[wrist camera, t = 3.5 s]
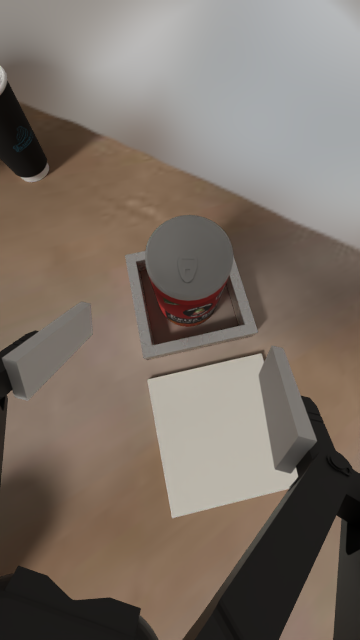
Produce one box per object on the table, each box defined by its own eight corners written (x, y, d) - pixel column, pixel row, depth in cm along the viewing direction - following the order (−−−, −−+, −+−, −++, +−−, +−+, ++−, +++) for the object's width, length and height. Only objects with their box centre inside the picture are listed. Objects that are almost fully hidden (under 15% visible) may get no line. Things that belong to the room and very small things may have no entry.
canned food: (166, 334, 28) (155, 308, 18) (153, 278, 30) (135, 224, 20) (224, 320, 29) (247, 285, 18) (207, 265, 31) (218, 205, 20)
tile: (148, 379, 27) (147, 379, 26) (259, 353, 27) (261, 353, 27) (172, 514, 23) (172, 518, 23) (300, 482, 24) (303, 484, 23)
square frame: (129, 264, 31) (125, 255, 28) (223, 245, 31) (226, 233, 29) (147, 360, 27) (143, 358, 25) (251, 336, 28) (258, 332, 25)
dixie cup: (10, 154, 37) (-61, 63, 26) (58, 148, 37) (7, 54, 26) (8, 193, 35) (-71, 111, 24) (59, 186, 35) (3, 101, 24)
